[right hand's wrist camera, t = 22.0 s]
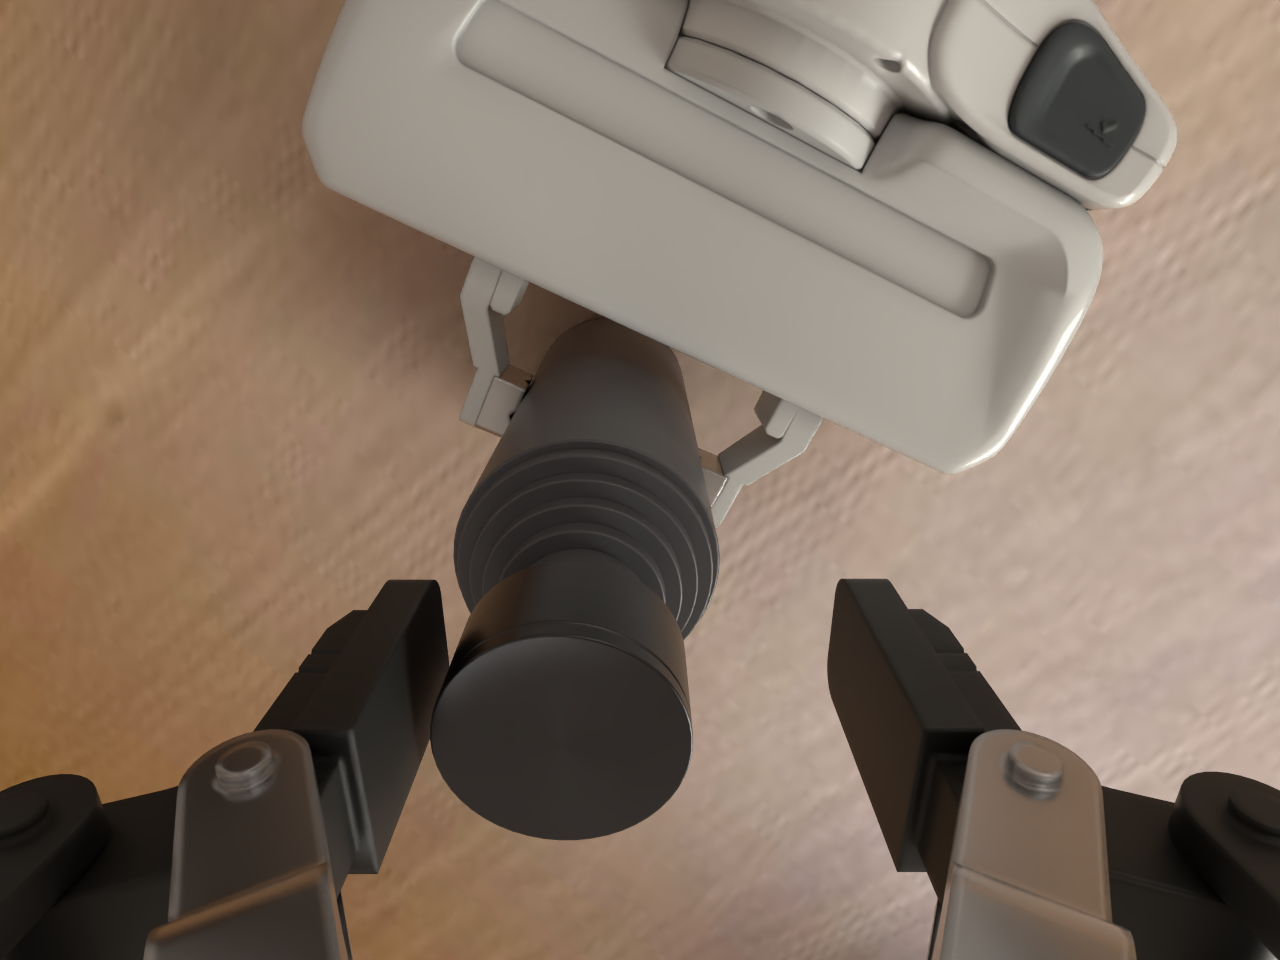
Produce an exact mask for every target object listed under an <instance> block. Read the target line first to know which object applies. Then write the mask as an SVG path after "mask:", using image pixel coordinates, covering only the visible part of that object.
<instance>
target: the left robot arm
mask: <svg viewBox="0 0 1280 960" xmlns="http://www.w3.org/2000/svg"><path fill="white" fill-rule="evenodd" d="M302 135H303V139H304V142H305V145H306V148H307V151H308V153H309V156H310V159H311V162H312V164H313V167H314V170H315V172H316V174H317V176H318V179H319V181H320V182H321V183H322V184H323V185H324V186H325V187H327V188H328V189H330V190H332V191H334V192H336V193H338V194H341V195H343V196H345V197H347V198H349V199H351V200H353V201H356V202H358V203H360V204H362V205H364V206H366V207H369V208H371V209H373V210H375V211H377V212H379V213H382V214H384V215H386V216H388V217H390V218H392V219H394V220H397V221H399V222H401V223H403V224H405V225H407V226H410V227H412V228H414V229H416V230H418V231H420V232H423V233H425V234H427V235H429V236H431V237H433V238H436V239H438V240H440V241H442V242H444V243H446V244H448V245H451V246H453V247H455V248H457V249H459V250H461V251H464V252H466V253H468V254H470V255H472V256H474V257H473V260H472V263H471V266H470V268H469V271H468V274H467V277H466V280H465V282H464V285H463V288H462V291H461V293H460V300H461V305H462V310H463V316H464V321H465V326H466V331H467V336H468V341H469V347H470V352H471V357H472V362H473V366H474V367H476V368H477V371H476V374H475V376H474V379H473V381H472V384H471V387H470V389H469V392H468V395H467V397H466V400H465V402H464V405H463V408H462V410H461V413H460V417H459V420H460V421H462V422H464V423H466V424H468V425H470V426H473V427H477V428H479V429H482V430H484V431H487V432H489V433H492V434H494V435H497V436H499V437H502V436H503V434H504V432H505V430H506V428H507V427H508V425H509V423H510V421H511V419H512V417H513V415H514V414H515V412H516V410H517V408H518V406H519V404H520V403H521V401H522V399H523V397H524V395H525V393H526V392H527V390H528V388H529V385H530V383H531V380H532V378H533V376H534V375H532V374H529V373H527V372H525V371H523V370H521V369H519V368H517V367H515V366H512V365H510V364H509V363H510V362H509V355H508V348H507V341H506V333H505V326H504V319H503V315H506V314H508V313H510V312H511V311H512V310H513V309H514V308H515V307H516V306H517V305H519V304H520V303H521V301H522V298H523V296H524V293H525V291H526V289H527V286H528V284H529V282H531V283H533V284H535V285H537V286H539V287H541V288H544V289H546V290H548V291H550V292H552V293H554V294H556V295H559V296H561V297H563V298H565V299H567V300H569V301H572V302H574V303H576V304H578V305H580V306H582V307H585V308H587V309H589V310H591V311H593V312H595V313H598V314H600V315H602V316H604V317H606V318H608V319H610V320H613V321H615V322H617V323H619V324H621V325H623V326H626V327H628V328H630V329H632V330H634V331H636V332H639V333H641V334H643V335H645V336H647V337H649V338H652V339H654V340H656V341H658V342H660V343H662V344H664V345H667V346H669V347H671V348H673V349H675V350H677V351H680V352H682V353H684V354H686V355H688V356H690V357H693V358H695V359H697V360H699V361H701V362H703V363H706V364H708V365H710V366H712V367H714V368H716V369H718V370H721V371H723V372H725V373H727V374H729V375H731V376H734V377H736V378H738V379H740V380H742V381H744V382H747V383H749V384H751V385H753V386H755V387H757V388H760V389H762V390H763V392H762V394H761V396H760V398H759V400H758V402H757V404H756V406H755V408H754V410H755V413H756V415H757V417H758V419H759V421H760V422H761V424H762V425H761V426H759V427H758V428H756V429H755V430H753V431H752V432H750V433H749V434H748V435H746V436H745V437H743V438H742V439H740V440H739V441H737V442H736V443H734V444H733V445H731V446H730V447H728V448H727V449H726V450H724V451H723V452H721V453H720V454H718V456H717V455H714V454H712V453H709V452H707V451H704V450H702V449H700V448H698V451H699V455H700V460H701V465H702V469H703V474H704V479H705V483H706V488H707V492H708V497H709V502H710V506H711V511H712V516H713V520H714V525H715V528H718V526H719V525H720V524H721V523H722V521H723V520H724V518H725V516H726V514H727V512H728V511H729V509H730V507H731V505H732V503H733V502H734V500H735V498H736V496H737V495H738V493H739V491H740V489H741V487H742V486H743V484H744V485H746V486H748V485H749V484H751V483H753V482H754V481H756V480H758V479H759V478H761V477H763V476H764V475H766V474H768V473H770V472H771V471H773V470H775V469H776V468H778V467H780V466H781V465H783V464H785V463H786V462H788V461H790V460H792V459H793V458H795V457H797V456H798V455H800V454H802V453H803V452H804V451H805V450H806V448H807V446H808V445H809V443H810V441H811V440H812V438H813V436H814V434H815V433H816V431H817V429H818V428H819V426H820V424H821V422H822V421H823V419H827V420H829V421H831V422H833V423H835V424H837V425H839V426H842V427H844V428H846V429H848V430H850V431H852V432H855V433H857V434H859V435H861V436H863V437H865V438H868V439H870V440H872V441H874V442H876V443H878V444H881V445H883V446H885V447H887V448H889V449H891V450H893V451H896V452H898V453H900V454H902V455H904V456H906V457H909V458H911V459H913V460H915V461H917V462H919V463H922V464H924V465H926V466H928V467H930V468H932V469H935V470H937V471H939V472H941V473H943V474H948V475H953V474H957V473H959V472H962V471H965V470H967V469H969V468H971V467H974V466H976V465H978V464H980V463H982V462H984V461H986V460H989V459H991V458H992V457H993V456H995V455H996V454H997V453H998V452H999V451H1000V450H1001V449H1002V448H1003V447H1004V446H1005V444H1006V443H1007V442H1008V440H1009V439H1010V438H1011V436H1012V435H1013V434H1014V432H1015V431H1016V430H1017V428H1018V427H1019V425H1020V424H1021V422H1022V421H1023V419H1024V418H1025V416H1026V415H1027V413H1028V412H1029V410H1030V409H1031V407H1032V406H1033V404H1034V403H1035V401H1036V400H1037V398H1038V396H1039V395H1040V393H1041V392H1042V390H1043V388H1044V387H1045V385H1046V384H1047V382H1048V380H1049V379H1050V377H1051V375H1052V374H1053V372H1054V370H1055V369H1056V367H1057V365H1058V364H1059V362H1060V360H1061V359H1062V357H1063V355H1064V354H1065V352H1066V350H1067V348H1068V346H1069V345H1070V343H1071V341H1072V339H1073V337H1074V336H1075V334H1076V332H1077V330H1078V328H1079V326H1080V324H1081V322H1082V321H1083V319H1084V317H1085V315H1086V313H1087V311H1088V309H1089V306H1090V304H1091V302H1092V300H1093V298H1094V295H1095V292H1096V289H1097V286H1098V283H1099V280H1100V276H1101V271H1102V265H1103V245H1102V239H1101V236H1100V232H1099V230H1098V227H1097V225H1096V224H1095V222H1094V220H1093V218H1092V217H1091V215H1090V214H1089V213H1088V211H1087V210H1102V209H1115V208H1123V207H1126V206H1129V205H1131V204H1133V203H1135V202H1136V201H1137V200H1138V199H1140V198H1141V197H1142V196H1143V195H1144V194H1145V193H1146V192H1147V191H1148V189H1149V188H1150V187H1151V186H1152V185H1153V183H1154V182H1155V181H1156V179H1157V178H1158V177H1159V175H1160V174H1161V172H1162V171H1163V168H1165V166H1166V165H1167V163H1168V161H1169V160H1170V158H1171V156H1172V154H1173V151H1174V149H1175V147H1176V143H1177V126H1176V123H1175V120H1174V118H1173V116H1172V114H1171V112H1170V110H1169V108H1168V107H1167V105H1166V104H1165V102H1164V101H1163V99H1162V98H1161V97H1160V95H1159V94H1158V93H1157V91H1156V90H1155V88H1154V87H1153V86H1152V84H1151V83H1150V82H1149V80H1148V79H1147V78H1146V76H1145V75H1144V74H1143V72H1142V71H1141V69H1140V68H1139V67H1138V65H1137V64H1136V62H1135V61H1134V60H1133V58H1132V57H1131V56H1130V54H1129V53H1128V51H1127V50H1126V49H1125V47H1124V46H1123V44H1122V43H1121V41H1120V40H1119V38H1118V37H1117V36H1116V34H1115V33H1114V31H1113V30H1112V28H1111V27H1110V25H1109V24H1108V22H1107V21H1106V19H1105V18H1104V16H1103V15H1102V13H1101V12H1100V10H1099V9H1098V7H1097V6H1096V4H1095V2H1094V1H1093V0H345V2H344V4H343V6H342V9H341V11H340V14H339V16H338V18H337V21H336V23H335V26H334V28H333V31H332V33H331V36H330V38H329V41H328V44H327V46H326V49H325V52H324V55H323V58H322V60H321V63H320V66H319V69H318V72H317V75H316V78H315V81H314V84H313V87H312V90H311V93H310V96H309V99H308V102H307V106H306V109H305V113H304V116H303V122H302Z"/></svg>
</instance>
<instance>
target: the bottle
mask: <svg viewBox="0 0 1280 960" xmlns="http://www.w3.org/2000/svg"><path fill="white" fill-rule="evenodd" d="M557 561H581V562H591V563H595V564H600V565H604V566H608V567H611V568H614V569H617V570H619V571H622V572H624V573H626V574H628V575H630V576H632V577H634V578H635V579H637V580H639V581H640V582H642V583H643V584H645V585H646V586H647V587H648V588H650V589H651V590H652V591H653V592H654V593H656V594H657V595H658V596H659V597H660V599H661V600H662V601H663V602H664V603H665V604H666V605H667V607H668V608H669V610H670V611H671V613H672V614H673V616H674V617H675V619H676V622H677V624H678V626H679V628H680V631H681V634H682V637H683V640H684V639H685V638H686V637H687V636H688V635H689V634H690V632H691V631H692V630H693V628H694V627H695V625H696V624H697V623H698V621H699V620H700V618H701V617H702V616H703V614H704V613H705V611H706V609H707V607H708V605H709V603H710V601H711V599H712V596H713V593H714V590H715V587H716V583H717V578H718V573H719V546H718V539H717V534H716V529H715V525H714V520H713V516H712V511H711V506H710V502H709V497H708V492H707V488H706V483H705V479H704V474H703V469H702V465H701V460H700V455H699V451H698V446H697V441H696V437H695V432H694V428H693V423H692V418H691V414H690V409H689V404H688V400H687V395H686V391H685V386H684V381H683V377H682V373H681V369H680V366H679V363H678V361H677V359H676V357H675V355H674V353H673V352H672V350H671V349H670V347H669V346H667V345H664V344H662V343H660V342H658V341H656V340H654V339H652V338H649V337H647V336H645V335H643V334H641V333H639V332H636V331H634V330H632V329H630V328H628V327H626V326H623V325H621V324H619V323H617V322H615V321H613V320H610V319H608V318H598V319H593V320H589V321H585V322H583V323H581V324H578V325H576V326H574V327H573V328H571V329H569V330H568V331H566V332H565V333H564V334H563V335H561V336H560V337H559V338H558V339H557V340H556V341H555V343H554V344H553V345H552V346H551V348H550V349H549V351H548V352H547V354H546V356H545V358H544V360H543V362H542V363H541V365H540V367H539V369H538V371H537V373H536V375H535V376H534V378H533V380H532V382H531V384H530V386H529V388H528V390H527V392H526V393H525V395H524V397H523V399H522V401H521V403H520V404H519V406H518V408H517V410H516V412H515V414H514V415H513V417H512V419H511V421H510V423H509V425H508V427H507V428H506V430H505V432H504V434H503V436H502V438H501V440H500V441H499V443H498V445H497V447H496V449H495V451H494V453H493V454H492V456H491V458H490V460H489V462H488V464H487V466H486V467H485V469H484V471H483V473H482V475H481V477H480V479H479V480H478V482H477V484H476V486H475V488H474V490H473V492H472V493H471V495H470V497H469V499H468V501H467V503H466V505H465V507H464V509H463V510H462V513H461V516H460V519H459V522H458V524H457V528H456V534H455V539H454V564H455V572H456V576H457V580H458V584H459V587H460V590H461V592H462V595H463V598H464V600H465V602H466V605H467V607H468V609H469V611H470V613H472V611H473V609H474V608H475V606H476V605H477V604H478V602H479V601H480V600H481V598H482V597H483V596H484V595H485V594H486V593H487V592H488V591H489V590H490V589H491V588H492V587H494V586H495V585H496V584H498V583H499V582H501V581H502V580H503V579H505V578H507V577H509V576H511V575H512V574H514V573H516V572H518V571H521V570H524V569H526V568H529V567H532V566H536V565H540V564H544V563H550V562H557Z"/></svg>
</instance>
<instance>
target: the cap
mask: <svg viewBox="0 0 1280 960" xmlns="http://www.w3.org/2000/svg"><path fill="white" fill-rule="evenodd" d="M430 741H431V747H432V753H433V756H434V759H435V762H436V765H437V767H438V769H439V771H440V773H441V775H442V777H443V779H444V780H445V782H446V783H447V785H448V786H449V788H450V789H451V790H452V791H453V792H454V793H455V795H456V796H457V797H458V798H459V799H460V800H461V801H462V802H463V803H464V804H466V805H467V806H468V807H469V808H470V809H472V810H473V811H474V812H476V813H477V814H479V815H480V816H482V817H483V818H485V819H487V820H489V821H490V822H492V823H494V824H496V825H498V826H501V827H503V828H506V829H508V830H511V831H513V832H517V833H520V834H524V835H527V836H532V837H537V838H543V839H552V840H582V839H591V838H596V837H601V836H606V835H610V834H613V833H616V832H619V831H622V830H625V829H627V828H629V827H631V826H634V825H636V824H638V823H639V822H641V821H643V820H645V819H646V818H648V817H649V816H651V815H652V814H653V813H655V812H656V811H657V810H659V809H660V808H661V807H662V806H663V805H664V804H665V803H666V802H667V801H668V800H669V799H670V798H671V797H672V795H673V794H674V793H675V792H676V790H677V789H678V788H679V786H680V784H681V782H682V780H683V779H684V777H685V775H686V772H687V770H688V767H689V764H690V760H691V755H692V750H693V731H692V722H691V710H690V700H689V689H688V678H687V668H686V657H685V649H684V642H683V637H682V634H681V631H680V628H679V626H678V624H677V622H676V619H675V617H674V616H673V614H672V613H671V611H670V610H669V608H668V607H667V605H666V604H665V603H664V602H663V601H662V600H661V599H660V597H659V596H658V595H657V594H656V593H654V592H653V591H652V590H651V589H650V588H648V587H647V586H646V585H645V584H643V583H642V582H640V581H639V580H637V579H635V578H634V577H632V576H630V575H628V574H626V573H624V572H622V571H619V570H617V569H614V568H611V567H608V566H604V565H600V564H595V563H591V562H581V561H557V562H550V563H544V564H540V565H536V566H532V567H529V568H526V569H524V570H521V571H518V572H516V573H514V574H512V575H511V576H509V577H507V578H505V579H503V580H502V581H501V582H499V583H498V584H496V585H495V586H494V587H492V588H491V589H490V590H489V591H488V592H487V593H486V594H485V595H484V596H483V597H482V598H481V600H480V601H479V602H478V604H477V605H476V606H475V608H474V609H473V611H472V613H471V615H470V617H469V618H468V621H467V624H466V626H465V629H464V631H463V634H462V636H461V639H460V641H459V644H458V646H457V649H456V652H455V654H454V657H453V659H452V662H451V664H450V667H449V669H448V672H447V675H446V677H445V680H444V682H443V685H442V687H441V690H440V692H439V695H438V698H437V700H436V703H435V706H434V709H433V711H432V717H431V723H430Z"/></svg>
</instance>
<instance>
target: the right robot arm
mask: <svg viewBox="0 0 1280 960" xmlns="http://www.w3.org/2000/svg"><path fill="white" fill-rule="evenodd" d="M448 669H449V657H448V649H447V641H446V632H445V624H444V615H443V607H442V598H441V591H440V587H439V584H438V582H437V581H436V580H388V581H387V582H386V583H385V584H384V586H383V587H382V589H381V591H380V592H379V594H378V595H377V597H376V598H375V600H374V601H373V603H372V604H371V606H370V607H369V609H368V610H353V611H352V612H350V613H349V614H347V615H346V616H344V617H343V618H342V619H340V620H339V621H337V622H336V623H334V624H333V625H332V626H330V627H329V628H327V629H326V631H325V632H324V634H323V635H322V636H321V638H320V639H319V641H318V642H317V643H316V645H315V646H314V648H313V649H312V653H311V654H308V656H307V657H306V659H305V660H304V661H303V663H302V664H301V666H300V667H299V672H298V673H295V674H294V675H293V677H292V678H291V680H290V681H289V682H288V684H287V685H286V687H285V688H284V689H283V691H282V692H281V693H280V695H279V696H278V698H277V699H276V700H275V702H274V703H273V705H272V706H271V707H270V709H269V710H268V712H267V713H266V714H265V716H264V717H263V719H262V720H261V721H260V723H259V724H258V725H257V727H256V728H255V730H254V731H253V732H250V733H246V734H243V735H240V736H237V737H234V738H232V739H230V740H227V741H225V742H223V743H221V744H219V745H218V746H216V747H214V748H212V749H211V750H209V751H208V752H206V753H205V754H204V755H202V756H201V757H200V758H199V759H198V760H196V761H195V762H194V763H193V764H192V765H191V766H190V768H189V769H188V770H187V771H186V773H185V774H184V776H183V777H182V779H181V781H180V783H179V786H176V787H173V788H169V789H166V790H162V791H158V792H154V793H149V794H145V795H141V796H136V797H132V798H127V799H123V800H119V801H114V802H110V803H106V804H102V803H101V801H100V798H99V795H98V792H97V790H96V787H95V786H94V784H93V782H91V781H90V780H89V779H87V778H85V777H82V776H79V775H73V774H59V775H50V776H45V777H40V778H36V779H32V780H29V781H26V782H23V783H20V784H17V785H15V786H12V787H10V788H7V789H5V790H3V791H1V792H0V960H354V959H353V953H352V947H351V942H350V936H349V930H348V924H347V918H346V912H345V908H344V903H343V898H342V894H341V888H342V886H343V884H344V881H345V879H346V877H347V875H348V874H378V872H379V869H380V866H381V864H382V861H383V859H384V856H385V853H386V851H387V848H388V846H389V843H390V840H391V838H392V835H393V833H394V830H395V827H396V825H397V822H398V820H399V817H400V814H401V812H402V809H403V807H404V804H405V802H406V799H407V796H408V794H409V791H410V789H411V786H412V783H413V781H414V778H415V776H416V773H417V770H418V768H419V765H420V763H421V760H422V757H423V755H424V752H425V750H426V747H427V744H428V742H429V739H430V723H431V717H432V711H433V709H434V706H435V703H436V700H437V698H438V695H439V692H440V690H441V687H442V685H443V682H444V680H445V677H446V675H447V672H448ZM827 673H828V684H829V690H830V694H831V698H832V701H833V704H834V706H835V709H836V711H837V714H838V717H839V719H840V722H841V725H842V727H843V730H844V733H845V735H846V738H847V741H848V743H849V746H850V748H851V751H852V754H853V756H854V759H855V762H856V764H857V767H858V770H859V772H860V775H861V777H862V780H863V783H864V785H865V788H866V791H867V793H868V796H869V799H870V801H871V804H872V806H873V809H874V812H875V814H876V817H877V820H878V822H879V825H880V828H881V830H882V833H883V835H884V838H885V841H886V843H887V846H888V849H889V851H890V854H891V857H892V859H893V862H894V864H895V867H896V870H897V872H927V873H928V876H929V878H930V881H931V883H932V885H933V888H934V890H935V892H936V895H937V897H938V898H937V903H936V908H935V912H934V918H933V924H932V930H931V936H930V942H929V947H928V953H927V959H926V960H1280V791H1279V790H1277V789H1275V788H1273V787H1271V786H1269V785H1266V784H1264V783H1261V782H1258V781H1256V780H1253V779H1250V778H1246V777H1243V776H1239V775H1235V774H1230V773H1223V772H1202V773H1196V774H1194V775H1191V776H1189V777H1188V778H1187V779H1185V780H1184V782H1183V784H1182V785H1181V788H1180V791H1179V793H1178V796H1177V799H1176V802H1175V803H1172V802H1168V801H1164V800H1159V799H1155V798H1151V797H1146V796H1142V795H1137V794H1133V793H1129V792H1124V791H1120V790H1116V789H1111V788H1108V787H1104V786H1101V783H1100V781H1099V779H1098V777H1097V776H1096V774H1095V773H1094V771H1093V770H1092V769H1091V768H1090V766H1089V765H1088V764H1087V763H1086V762H1085V761H1084V760H1082V759H1081V758H1080V757H1079V756H1078V755H1076V754H1075V753H1074V752H1072V751H1071V750H1069V749H1068V748H1066V747H1064V746H1062V745H1061V744H1059V743H1057V742H1055V741H1053V740H1050V739H1048V738H1046V737H1043V736H1040V735H1037V734H1034V733H1030V732H1026V731H1022V730H1021V729H1020V727H1019V726H1018V725H1017V723H1016V722H1015V720H1014V719H1013V718H1012V716H1011V715H1010V713H1009V712H1008V711H1007V709H1006V708H1005V706H1004V705H1003V704H1002V702H1001V701H1000V699H999V698H998V696H997V695H996V694H995V692H994V691H993V689H992V688H991V687H990V685H989V684H988V682H987V681H986V680H985V678H984V677H983V675H982V674H981V673H980V671H977V670H976V666H975V664H974V663H973V661H972V660H971V658H970V657H969V656H968V654H967V653H964V649H963V647H962V646H961V644H960V643H959V642H958V640H957V639H956V637H955V636H954V635H953V633H952V632H951V630H950V629H949V628H948V627H947V626H946V625H944V624H943V623H941V622H940V621H938V620H937V619H936V618H934V617H933V616H931V615H930V614H929V613H927V612H926V611H924V610H923V609H908V608H907V607H906V605H905V604H904V602H903V601H902V599H901V598H900V596H899V594H898V593H897V591H896V590H895V588H894V587H893V585H892V584H891V582H890V581H889V580H888V579H840V580H839V582H838V584H837V587H836V592H835V600H834V609H833V617H832V626H831V634H830V643H829V652H828V661H827Z"/></svg>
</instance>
